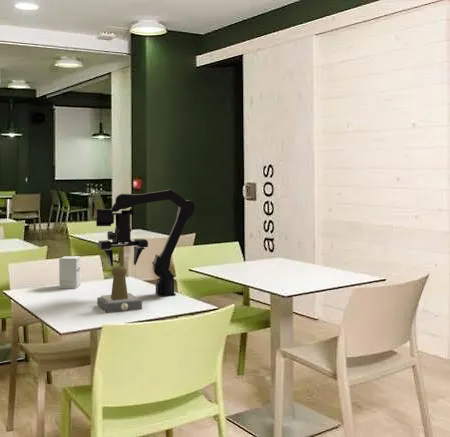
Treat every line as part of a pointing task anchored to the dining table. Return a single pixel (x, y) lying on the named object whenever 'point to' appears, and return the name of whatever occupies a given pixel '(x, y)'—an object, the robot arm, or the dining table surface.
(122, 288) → the cork
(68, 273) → the supplement box
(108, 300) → the kitchen scale
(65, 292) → the dining table surface
